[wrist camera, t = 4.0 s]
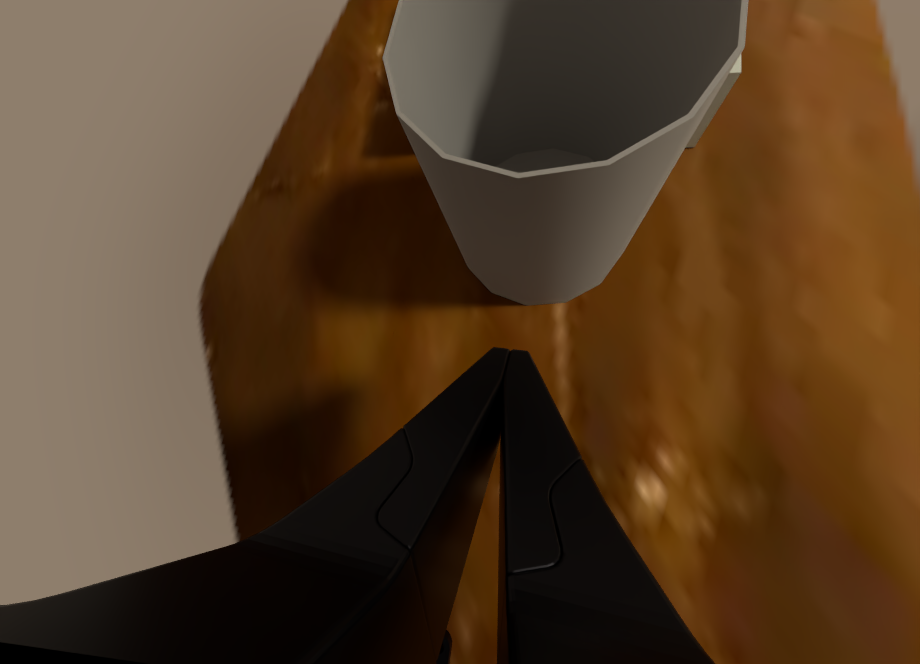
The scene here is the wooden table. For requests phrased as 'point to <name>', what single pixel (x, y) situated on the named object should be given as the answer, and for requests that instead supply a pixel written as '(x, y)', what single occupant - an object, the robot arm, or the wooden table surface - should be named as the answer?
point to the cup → (554, 123)
